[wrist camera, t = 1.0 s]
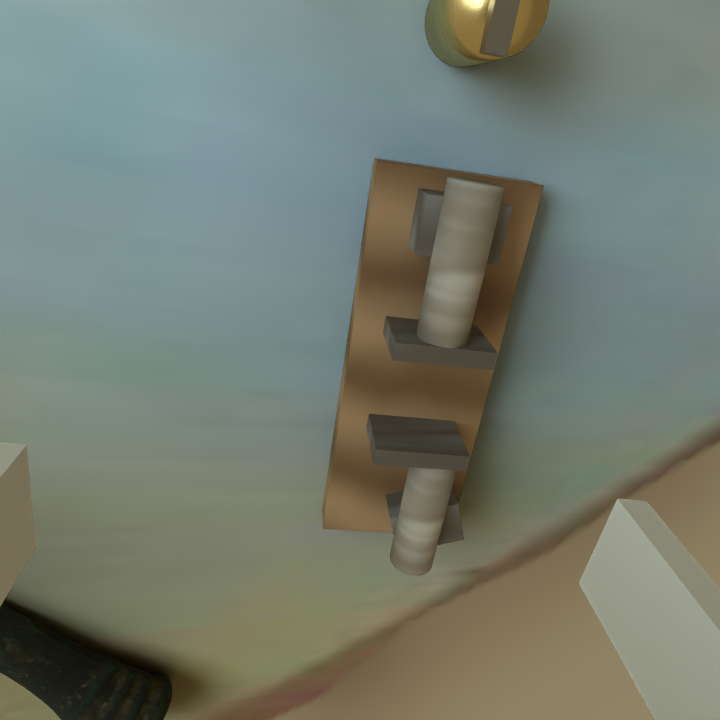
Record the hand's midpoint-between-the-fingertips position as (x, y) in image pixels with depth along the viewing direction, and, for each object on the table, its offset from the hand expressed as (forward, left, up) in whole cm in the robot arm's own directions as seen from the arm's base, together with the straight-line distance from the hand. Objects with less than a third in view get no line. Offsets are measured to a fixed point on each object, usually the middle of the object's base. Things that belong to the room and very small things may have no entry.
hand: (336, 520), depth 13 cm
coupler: (-13, +6, -22) cm, 26 cm away
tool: (+30, -20, -23) cm, 42 cm away
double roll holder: (+6, +7, -22) cm, 24 cm away
